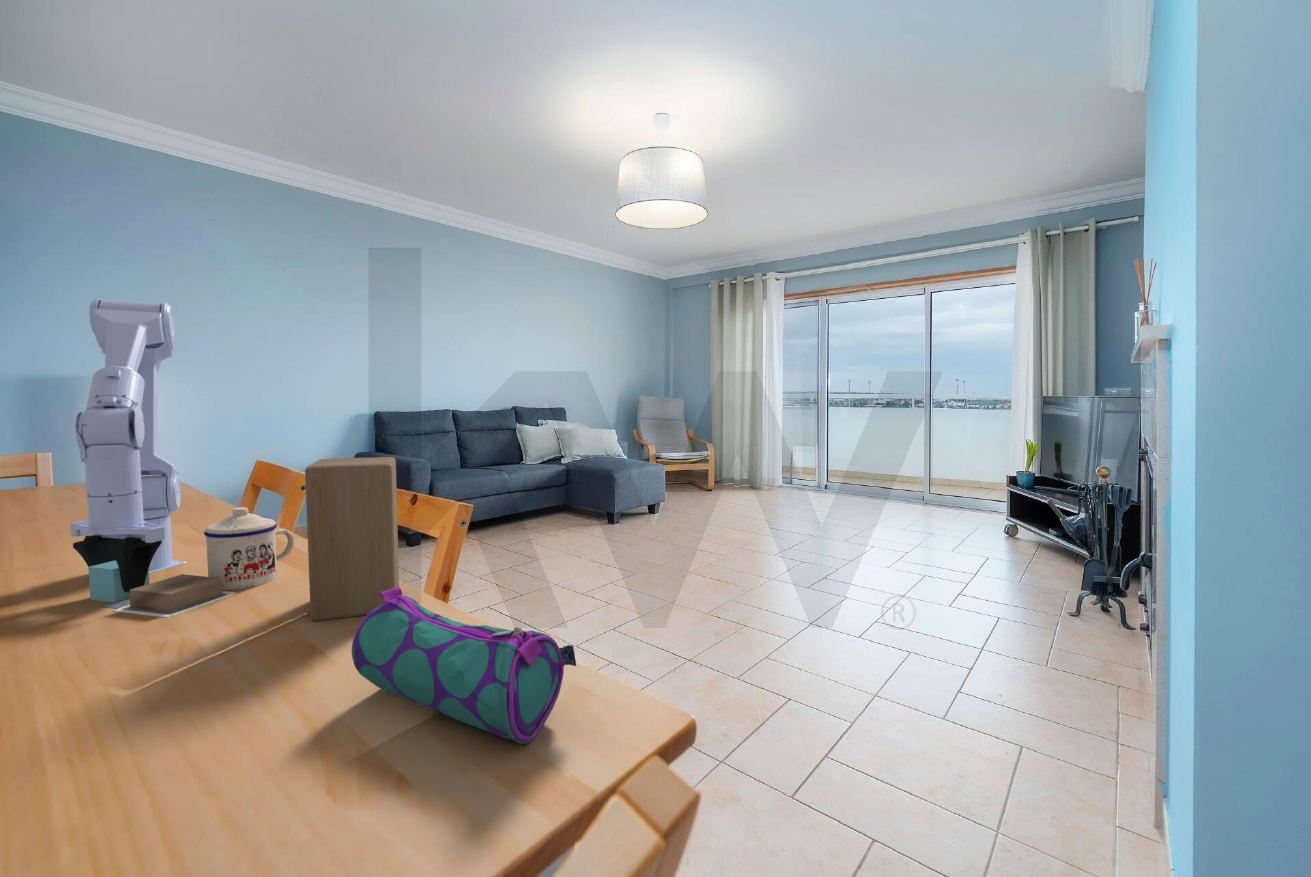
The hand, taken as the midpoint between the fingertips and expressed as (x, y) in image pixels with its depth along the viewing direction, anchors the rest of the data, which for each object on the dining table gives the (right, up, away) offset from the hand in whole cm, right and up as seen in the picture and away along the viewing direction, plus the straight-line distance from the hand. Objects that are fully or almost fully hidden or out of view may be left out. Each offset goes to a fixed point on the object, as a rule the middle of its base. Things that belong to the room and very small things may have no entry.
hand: (120, 588), depth 84 cm
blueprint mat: (+8, -2, -2) cm, 8 cm away
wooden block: (+35, -2, -2) cm, 35 cm away
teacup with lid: (+13, -1, +8) cm, 16 cm away
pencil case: (+57, -4, -28) cm, 64 cm away
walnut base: (+10, -1, -2) cm, 10 cm away
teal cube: (0, -1, 0) cm, 1 cm away
